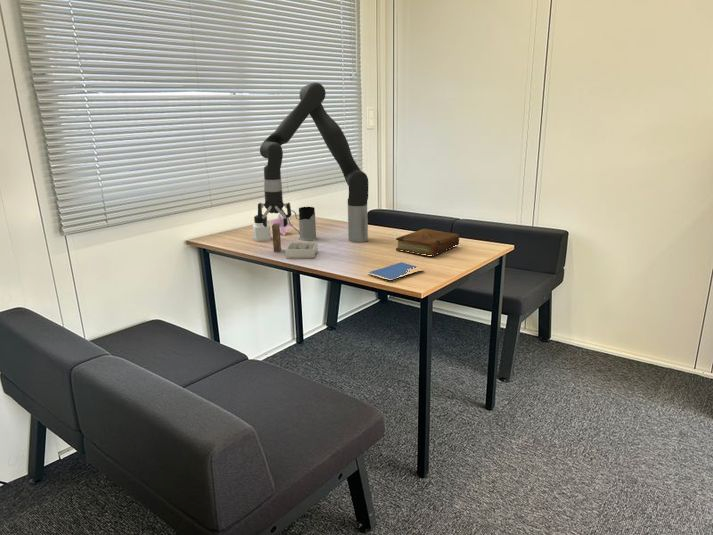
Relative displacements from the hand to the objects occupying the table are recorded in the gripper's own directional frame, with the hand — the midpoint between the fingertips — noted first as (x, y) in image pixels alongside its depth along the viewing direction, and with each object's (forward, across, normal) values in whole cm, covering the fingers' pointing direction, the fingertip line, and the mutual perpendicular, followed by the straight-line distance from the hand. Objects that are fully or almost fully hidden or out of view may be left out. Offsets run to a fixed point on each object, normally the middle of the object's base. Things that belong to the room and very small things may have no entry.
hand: (275, 226), depth 222 cm
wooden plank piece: (+11, 0, 0) cm, 11 cm away
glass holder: (+11, -8, -22) cm, 26 cm away
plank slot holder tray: (+11, -12, +6) cm, 18 cm away
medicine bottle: (+11, +11, -20) cm, 26 cm away
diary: (+11, -67, -6) cm, 68 cm away
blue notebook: (+11, -53, +30) cm, 62 cm away
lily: (+12, +4, -34) cm, 36 cm away
